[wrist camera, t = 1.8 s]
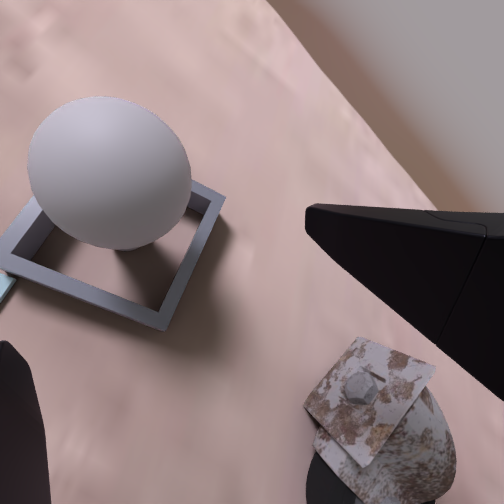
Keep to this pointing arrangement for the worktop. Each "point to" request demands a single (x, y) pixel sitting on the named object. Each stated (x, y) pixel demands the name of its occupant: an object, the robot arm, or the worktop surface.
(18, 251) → the grey square frame
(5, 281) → the coaster
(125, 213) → the lightbulb
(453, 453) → the caster wheel
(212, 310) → the worktop surface
